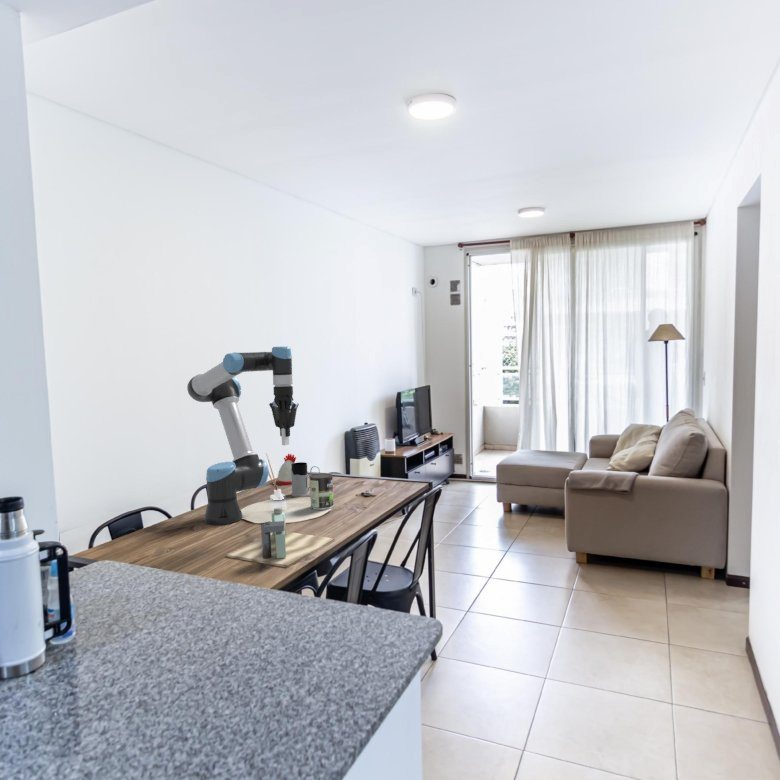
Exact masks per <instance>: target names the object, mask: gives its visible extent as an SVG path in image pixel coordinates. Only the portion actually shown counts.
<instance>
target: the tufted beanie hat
mask: <svg viewBox="0 0 780 780" xmlns="http://www.w3.org/2000/svg"><path fill="white" fill-rule="evenodd" d="M296 459H297V457H296V456H295V454H292V453H288V454H287V455H285V457H283V460H284V462H283V463H282V465H281V466H280V467H279V471H278V473H277V484H279V485H289V486H290V485H292V475H291V469H292V466H291V464H293V463H298V462H297V461H296Z"/></svg>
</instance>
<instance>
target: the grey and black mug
mask: <svg viewBox="0 0 780 780" xmlns="http://www.w3.org/2000/svg"><path fill="white" fill-rule="evenodd" d="M291 466H292V469H291V475H292V484H291V491H292V492H291V496H292V497H295V498H296V497H297V498H298V497H306V496H309V495H310V486H309V476H310V475H312V469H313V468H317V469H318V474H320V473H321V471H320V468H319V467H318V466H317V465H316V466H315V465H313V466H312V467H311V468H310V473H309V474H308V463H307V462H303V461H301V462H300V461H299V462H297V463H293V464H291Z"/></svg>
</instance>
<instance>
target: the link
mask: <svg viewBox="0 0 780 780" xmlns="http://www.w3.org/2000/svg"><path fill="white" fill-rule="evenodd" d="M277 521H284V525H285V527H284V531H281V532H271V533H272V535H273V536H275V540H276V554H277V558H286V546H285V534H286V532H287V530H286V528H287V525H286V512H285V511H282V513H279V514H275V513H274V511H273V512H272V513H271V522H277Z"/></svg>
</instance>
